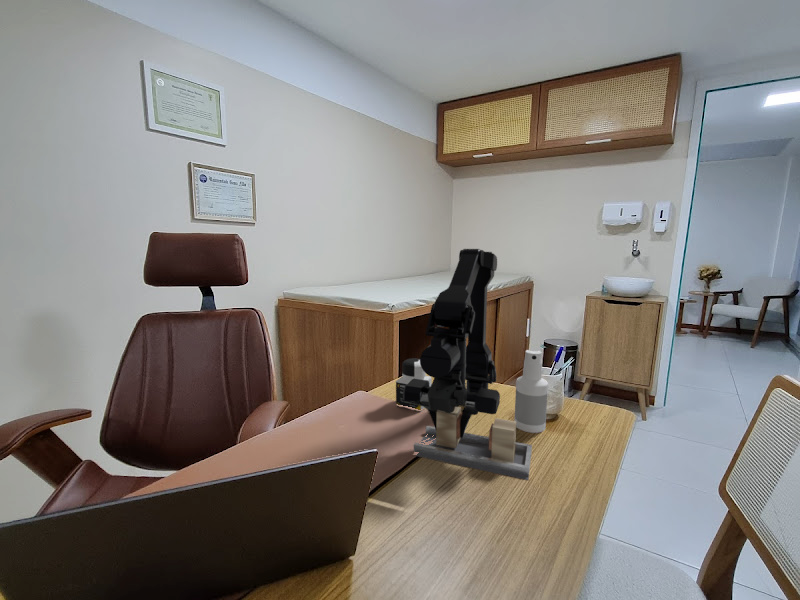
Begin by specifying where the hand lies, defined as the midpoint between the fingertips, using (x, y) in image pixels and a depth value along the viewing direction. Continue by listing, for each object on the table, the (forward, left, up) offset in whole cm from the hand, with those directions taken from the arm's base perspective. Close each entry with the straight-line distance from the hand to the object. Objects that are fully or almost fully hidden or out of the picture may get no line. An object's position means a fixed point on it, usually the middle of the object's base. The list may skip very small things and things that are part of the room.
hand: (449, 434), depth 78 cm
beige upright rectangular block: (0, +11, -3) cm, 11 cm away
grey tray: (0, +5, -3) cm, 6 cm away
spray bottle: (-16, +15, -3) cm, 22 cm away
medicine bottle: (-18, -14, -3) cm, 23 cm away
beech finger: (0, 0, -2) cm, 2 cm away
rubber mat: (0, +5, -3) cm, 6 cm away
